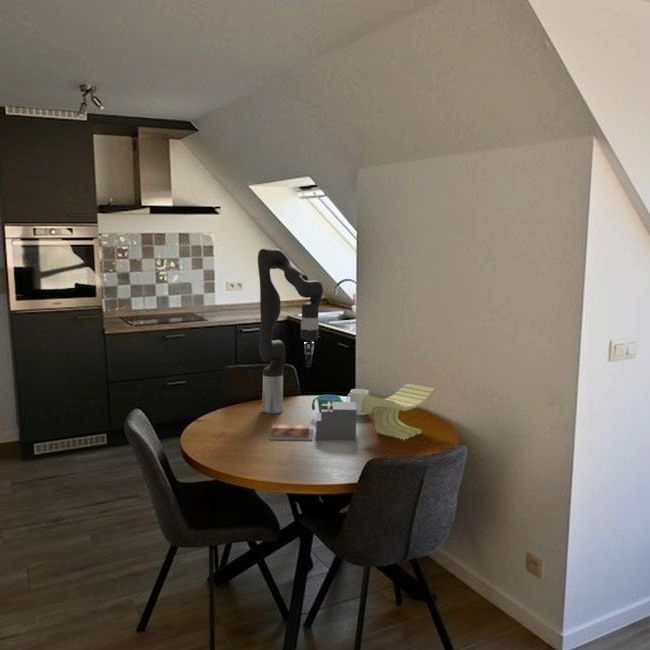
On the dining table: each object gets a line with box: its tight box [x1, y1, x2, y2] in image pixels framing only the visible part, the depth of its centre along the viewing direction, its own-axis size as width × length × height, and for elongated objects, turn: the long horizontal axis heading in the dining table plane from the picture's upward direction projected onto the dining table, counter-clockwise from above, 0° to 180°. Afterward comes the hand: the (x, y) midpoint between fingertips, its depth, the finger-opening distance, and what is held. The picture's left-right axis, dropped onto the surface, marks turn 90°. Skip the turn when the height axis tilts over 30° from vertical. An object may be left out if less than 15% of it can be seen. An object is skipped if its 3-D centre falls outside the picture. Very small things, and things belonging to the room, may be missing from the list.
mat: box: [269, 428, 314, 442], centre depth 263 cm, size 17×14×1 cm
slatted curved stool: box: [361, 383, 435, 441], centre depth 267 cm, size 30×16×18 cm, turn 139°
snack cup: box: [311, 394, 345, 413], centre depth 286 cm, size 16×10×10 cm
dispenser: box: [315, 401, 357, 442], centre depth 262 cm, size 16×12×13 cm
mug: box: [346, 388, 370, 416], centre depth 297 cm, size 9×12×11 cm
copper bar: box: [271, 423, 310, 436], centre depth 262 cm, size 15×5×3 cm, turn 90°
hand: (308, 365), depth 273 cm, fingers open, 8 cm apart
